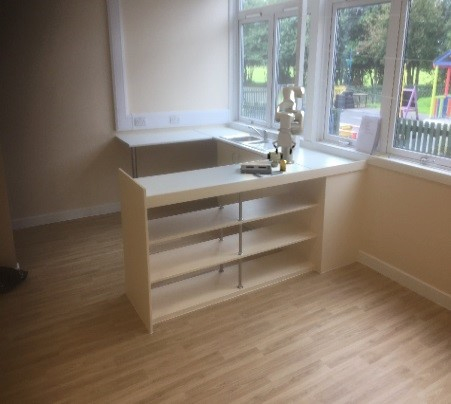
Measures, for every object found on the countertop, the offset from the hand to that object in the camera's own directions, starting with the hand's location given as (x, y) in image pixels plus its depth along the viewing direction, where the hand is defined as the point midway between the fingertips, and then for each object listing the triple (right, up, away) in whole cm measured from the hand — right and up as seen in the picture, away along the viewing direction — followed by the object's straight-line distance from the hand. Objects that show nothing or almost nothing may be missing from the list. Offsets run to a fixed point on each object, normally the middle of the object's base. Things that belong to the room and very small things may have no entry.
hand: (283, 154), depth 309 cm
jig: (-20, -12, +2) cm, 24 cm away
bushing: (0, -12, +4) cm, 13 cm away
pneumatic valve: (-5, -7, +19) cm, 21 cm away
